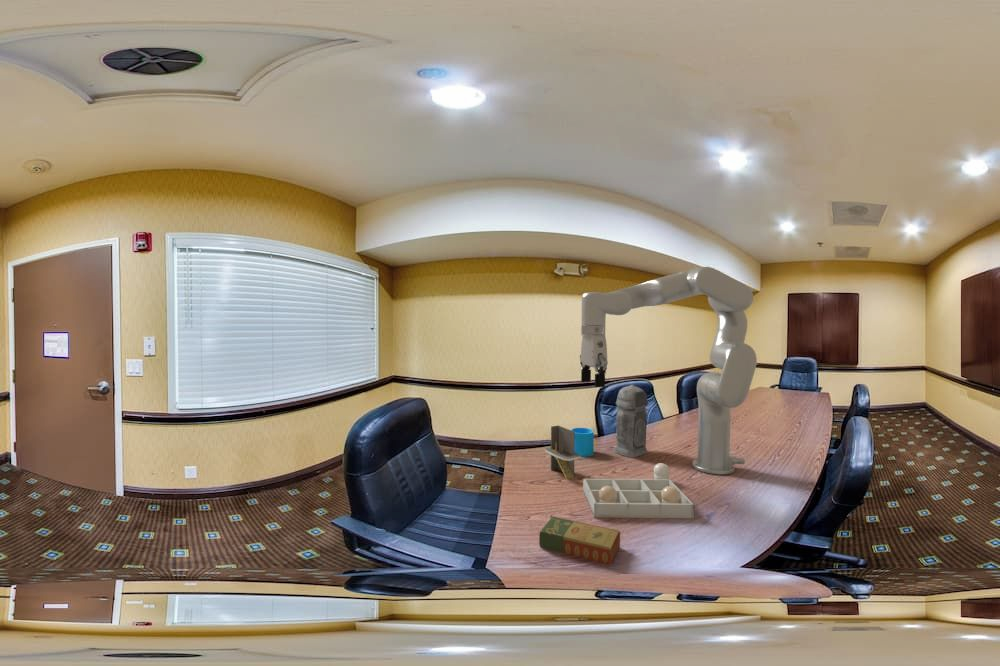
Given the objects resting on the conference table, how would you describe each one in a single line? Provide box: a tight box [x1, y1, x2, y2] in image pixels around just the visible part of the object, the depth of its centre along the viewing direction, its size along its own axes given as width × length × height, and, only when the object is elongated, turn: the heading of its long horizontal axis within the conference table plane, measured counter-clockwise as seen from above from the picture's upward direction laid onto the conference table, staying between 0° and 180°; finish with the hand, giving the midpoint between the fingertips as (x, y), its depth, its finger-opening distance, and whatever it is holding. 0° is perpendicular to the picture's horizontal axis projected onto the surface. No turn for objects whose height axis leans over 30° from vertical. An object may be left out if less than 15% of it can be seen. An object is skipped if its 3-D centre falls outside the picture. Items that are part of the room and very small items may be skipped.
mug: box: [570, 427, 595, 457], centre depth 164 cm, size 12×8×8 cm
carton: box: [538, 515, 621, 566], centre depth 100 cm, size 8×16×4 cm, turn 63°
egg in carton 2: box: [661, 486, 680, 504], centre depth 118 cm, size 5×5×6 cm
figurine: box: [613, 384, 649, 459], centre depth 165 cm, size 10×14×25 cm
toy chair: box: [544, 425, 581, 480], centre depth 144 cm, size 20×25×15 cm
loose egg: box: [653, 462, 670, 479], centre depth 138 cm, size 5×5×6 cm
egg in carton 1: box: [599, 486, 617, 503], centre depth 119 cm, size 5×5×6 cm
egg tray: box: [582, 478, 695, 519], centre depth 123 cm, size 25×17×4 cm
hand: (592, 384), depth 146 cm, fingers open, 9 cm apart
